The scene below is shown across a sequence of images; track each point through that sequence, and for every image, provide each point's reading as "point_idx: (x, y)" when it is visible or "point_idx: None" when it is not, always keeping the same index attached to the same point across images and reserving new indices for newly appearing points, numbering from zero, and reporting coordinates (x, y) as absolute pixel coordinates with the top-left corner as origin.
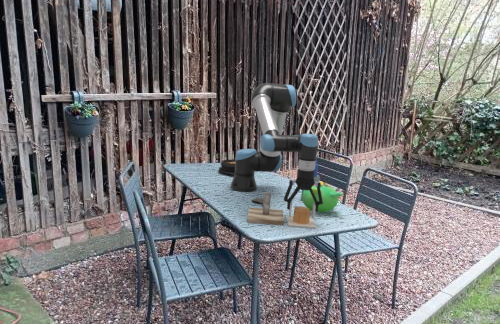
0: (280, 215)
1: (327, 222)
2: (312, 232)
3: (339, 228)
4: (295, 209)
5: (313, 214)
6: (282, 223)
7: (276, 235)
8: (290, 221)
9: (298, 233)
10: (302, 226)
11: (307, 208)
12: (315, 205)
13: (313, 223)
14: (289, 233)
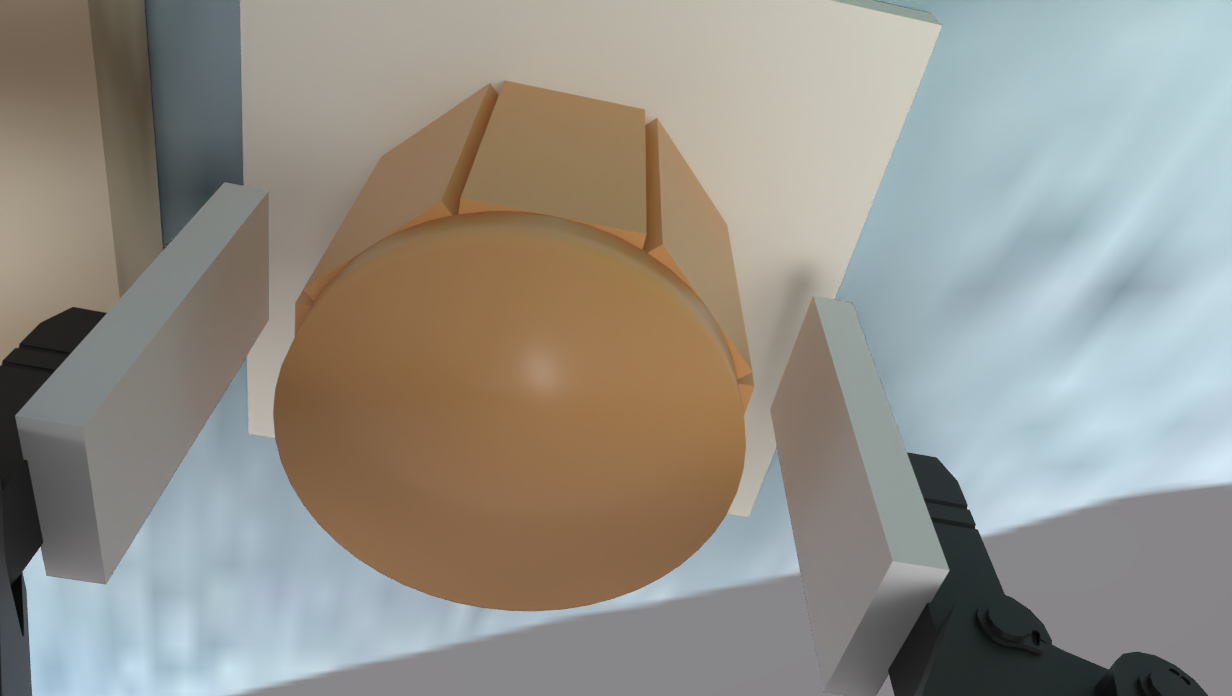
0: (14, 59)
1: (1208, 184)
2: (627, 601)
3: (1212, 473)
4: (296, 486)
5: (791, 489)
6: None
7: (74, 672)
8: (301, 263)
9: (397, 627)
10: None
11: (687, 424)
12: (865, 693)
13: (782, 362)
14: (261, 626)
